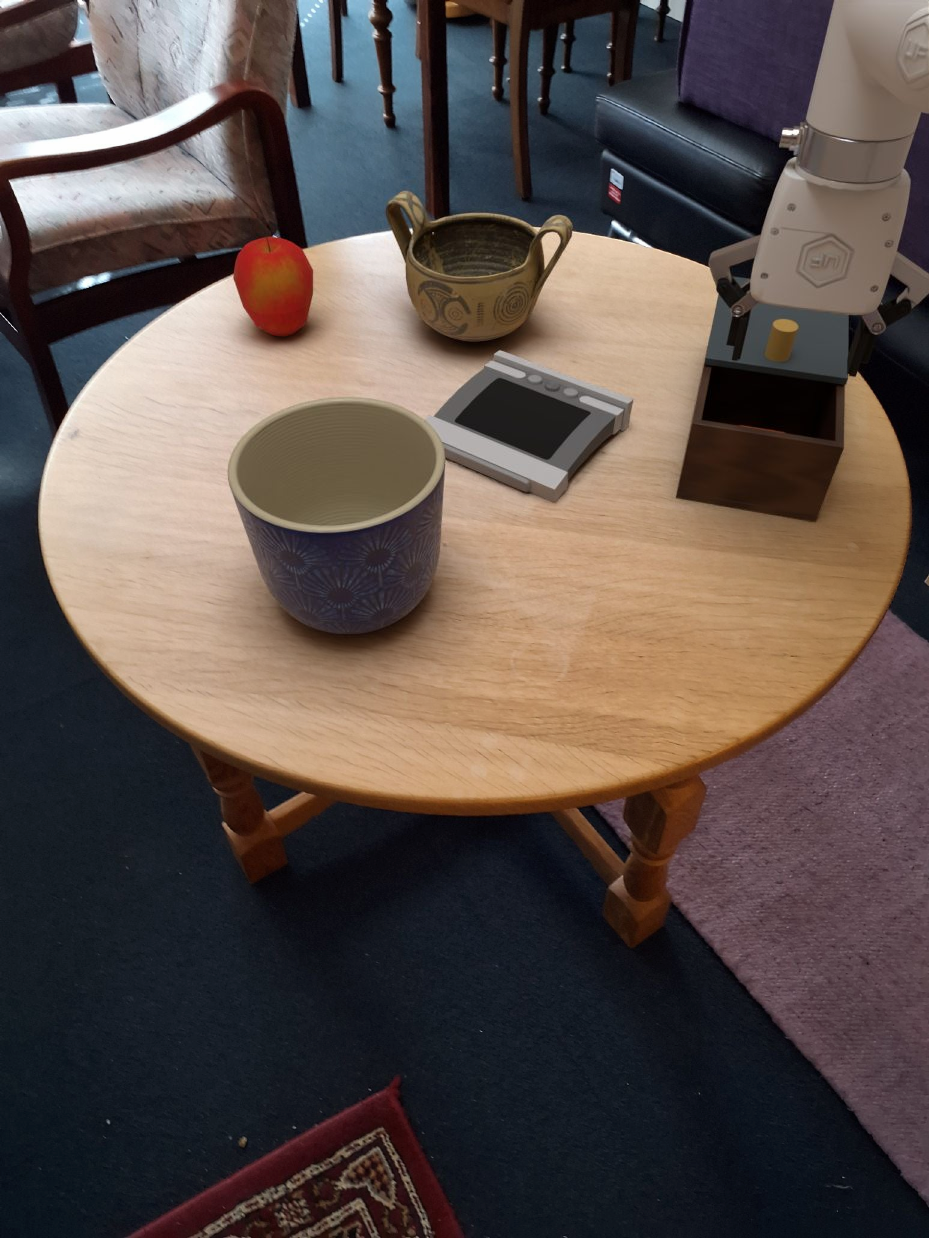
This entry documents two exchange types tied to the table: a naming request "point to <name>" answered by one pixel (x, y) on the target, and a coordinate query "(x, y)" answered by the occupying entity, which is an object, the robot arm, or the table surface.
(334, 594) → the planter
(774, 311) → the lid
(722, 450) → the box
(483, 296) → the ceramic bowl
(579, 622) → the table surface
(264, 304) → the apple
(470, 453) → the alarm clock
